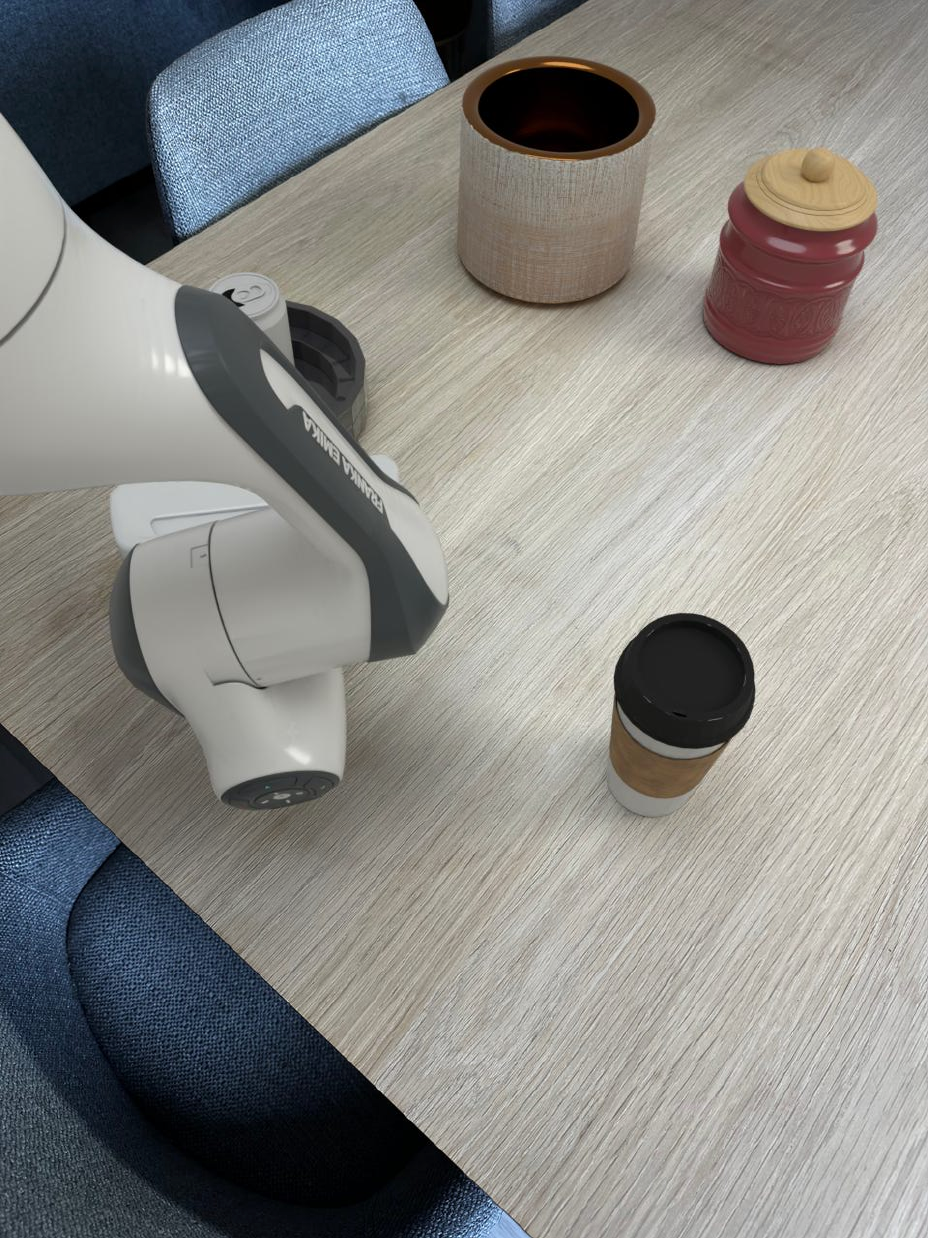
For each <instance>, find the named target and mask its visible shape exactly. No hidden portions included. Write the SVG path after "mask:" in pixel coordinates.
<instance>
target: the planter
mask: <svg viewBox="0 0 928 1238" xmlns="http://www.w3.org/2000/svg"><path fill="white" fill-rule="evenodd" d="M460 108H461V112H460V143H459V144H460V145H459V170H458V171H459V173H458V175H459V176H458V193H457V194H458V196H457V197H458V198H457V220H456V222H457V223H456V224H457V225H456V243H457V251H458V254H459V255H458V256H459V258H460V260H461V262H462V264H463V266H464V268H466V270H467V271H468V272H469V273H470V275H471V276H472V277H473V278H474V279H476V280H477V281H478V282H480V283H481V284H482V285H484V286H486V287H487V288H488V289H490V290H492V291H494V292H496V293H498V294H500V295H503V296H506V297H509V298H511V299H515V300H518V301H523V302H526V303H527V302H528V303H535V304H545V305H554V304H567V303H574V302H579V301H583V300H586V299H589V298H592V297H594V296H597V295H600V294H602V293H603V292H605V291H607V290H608V289H610V288H612V287H613V286H615V284H617V283H618V282H619V281H620V280H621V279H622V278H623V277H624V276H625V274H626V272H627V271H628V269H629V267H630V265H631V262H632V259H633V255H634V251H635V246H636V240H637V234H638V229H639V222H640V215H641V209H642V204H643V197H644V191H645V186H646V185H645V184H646V181H647V180H646V178H647V173H648V167H649V162H650V161H649V160H650V156H651V150H652V144H653V139H654V133H655V128H656V121H657V109H656V104H655V101H654V99H653V97H652V95H651V94H650V93H649V91H648V90H647V89H646V88H645V87H644V86H643V85H642V84H641V82H639V81H637V79H635V78H633V77H632V76H631V75H629V74H627V73H625V72H624V71H622V70H619V69H617V68H615V67H613V66H610V65H607V64H605V63H602V62H599V61H596V60H591V59H588V58H587V59H586V58H583V57H575V56H566V55H534V56H533V55H532V56H525V57H520V58H514V59H511V60H507V61H504V62H501V63H498V64H495V65H493V66H491V67H489V68H487V69H486V70H484V71H481V72H480V73H479V74H478V75H476V76H475V77H474V78H473V79H472V80H471V81H470V82H469V83H468V85H467V86H466V88H465V89H464V92H463V95H462V97H461V107H460Z"/></svg>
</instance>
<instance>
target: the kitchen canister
mask: <svg viewBox="0 0 928 1238" xmlns="http://www.w3.org/2000/svg"><path fill="white" fill-rule="evenodd" d="M877 205H878V192H877V189H876V187H875V185H874V184H873V182H872V181H871V179H870V178H869V177H868V176H867V175H866V174H865V173H863V171H861V170H860V169H859V168H858V167H857V166H856V165H855V164H854V163H853V162H852V161H850V160H848V159H847V158H845V157H843V156H841V155H838V154H836V153H834V152H832V151H831V150H830V149H829V148H826V147H823V146H820V147H819V146H818V147H813V148H809V147H807V148H805V147H803V148H801V147H800V148H793V149H792V148H790V149H787V150H783V151H780V152H776V153H772V154H769V155H766V156H764V157H761V158H760V159H757V161H754V163H752V164H751V165H749V168H748V169H747V171H746V172H745V175H744V178H743V181H741V182H740V183H739V184H737V186H735V188H734V189H733V190H732V192H730V195H729V197H728V200H727V214H728V219H727V220H726V221H725V222H724V224H723V226H721V227H722V228H721V230H720V232H719V238H718V239H719V240H718V242H719V244H718V247H717V251H716V255H715V259H714V262H713V267H712V271H711V274H710V278H709V280H708V281H707V284H706V286H705V291H704V294H703V300H702V305H703V309H702V310H703V311H702V316H703V321H704V324H705V327H706V328H707V331H708V332H709V333H710V335H711V336H712V337H713V339H714V340H716V341H717V342H718V344H720V345H721V346H723V347H724V348H726V349H727V350H729V351H730V352H732V353H734V354H736V355H738V356H740V357H743V358H746V359H749V360H752V361H756V362H759V363H764V364H765V363H766V364H775V365H783V364H784V365H785V364H787V365H788V364H794V363H801V362H805V361H807V360H810V359H812V358H814V357H815V356H817V355H820V354H821V353H822V352H823V351H824V350H825V349H826V348H827V347H828V346H829V344H830V343H831V341H832V340H833V339H834V337H835V336H836V335H837V333H838V331H839V329H840V325H841V324H842V321H843V317H844V311H845V309H846V305H847V303H848V300H849V299H850V296H851V294H852V290H853V288H854V285H855V283H856V280H857V278H858V276H859V275H860V273H861V272H862V270H863V268H864V265H865V260H866V256H865V255H866V254H865V253H866V252H865V250H866V249H867V248H868V247H869V246H870V245H871V244H872V243H873V241H874V240H875V238H876V237H877V234H878V231H879V230H878V229H879V221H878V217H877V213H876V209H877Z"/></svg>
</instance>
